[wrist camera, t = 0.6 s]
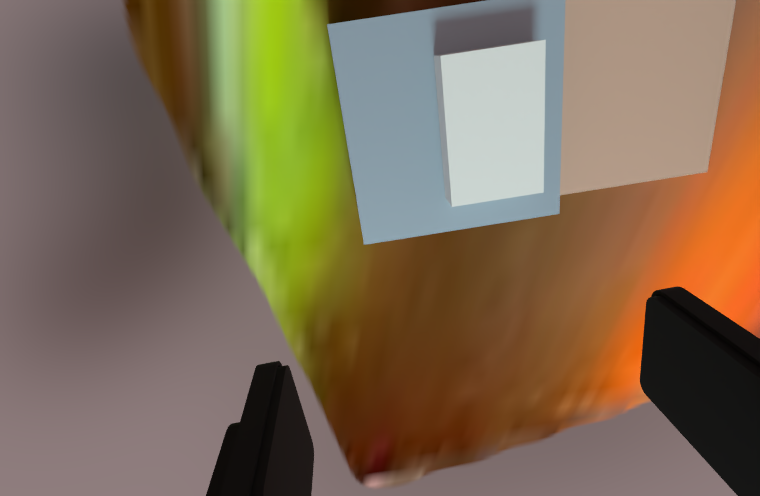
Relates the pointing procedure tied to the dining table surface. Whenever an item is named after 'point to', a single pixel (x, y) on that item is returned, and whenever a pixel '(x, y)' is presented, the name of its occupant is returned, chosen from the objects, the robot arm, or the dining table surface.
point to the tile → (492, 121)
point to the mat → (640, 89)
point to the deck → (433, 111)
